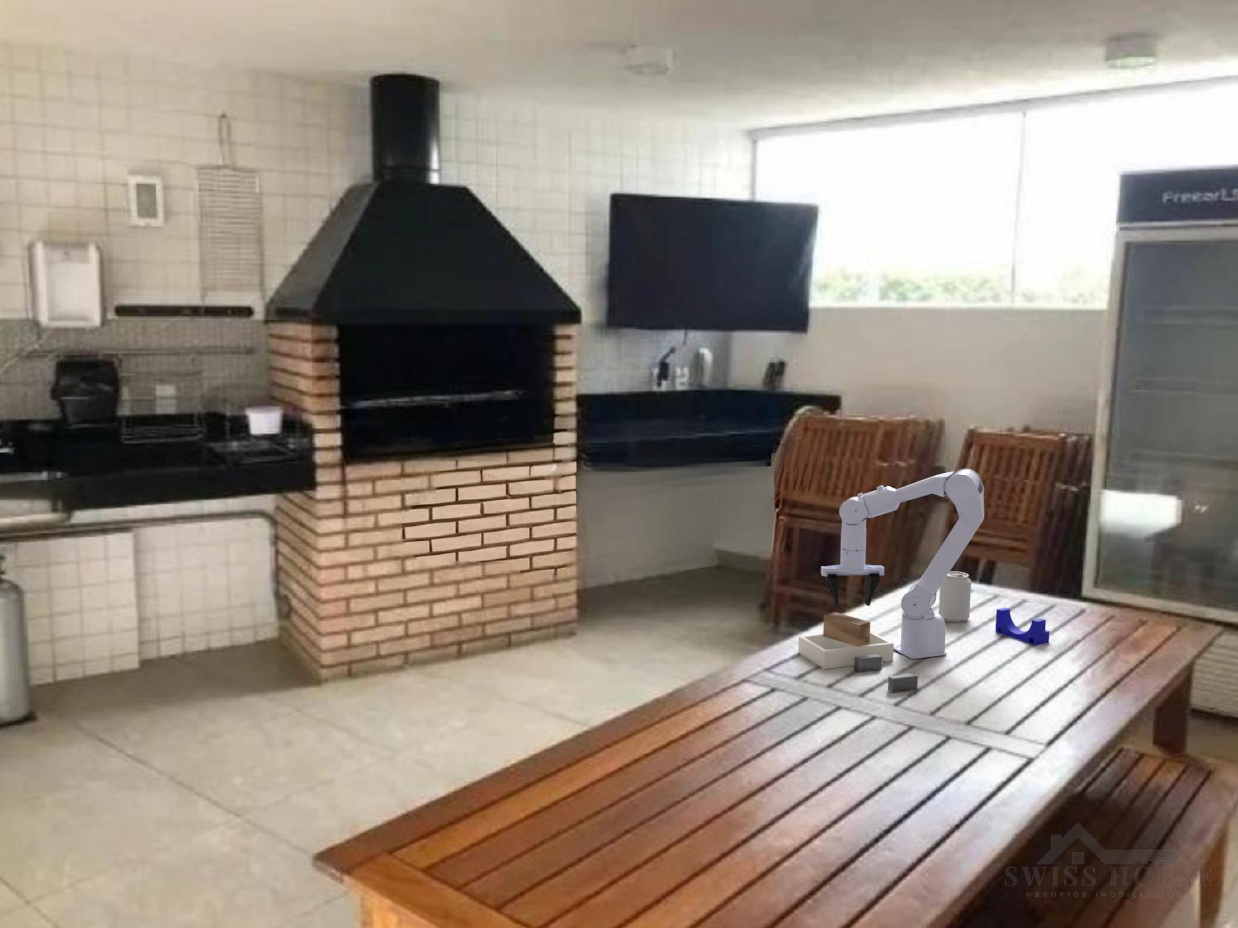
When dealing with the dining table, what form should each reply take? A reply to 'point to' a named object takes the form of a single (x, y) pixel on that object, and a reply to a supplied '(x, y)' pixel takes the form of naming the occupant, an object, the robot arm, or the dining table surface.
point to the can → (955, 597)
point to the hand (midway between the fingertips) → (851, 604)
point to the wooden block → (846, 629)
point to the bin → (841, 650)
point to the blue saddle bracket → (1008, 628)
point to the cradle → (894, 682)
